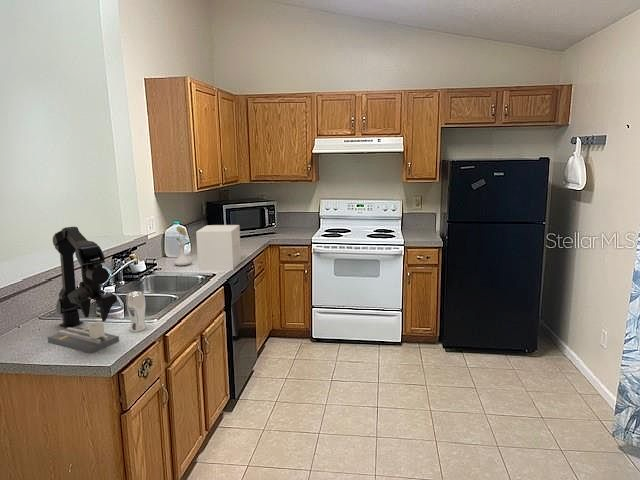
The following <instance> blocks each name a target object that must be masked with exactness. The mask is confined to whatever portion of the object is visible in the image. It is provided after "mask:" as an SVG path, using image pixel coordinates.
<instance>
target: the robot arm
mask: <svg viewBox="0 0 640 480" xmlns="http://www.w3.org/2000/svg"><path fill="white" fill-rule="evenodd" d="M52 244H53V246H54V249H55V250H56V251H57V252H58V254H59V257H60V269H61V270H60V272H61V283H62V287H61V290H60V291H59V293H58V299H57V302H56V304H55V305H56V306H55V307H56V312H57V313H58V314H60V315H61V316H62V317H61V318H62V323H60V324H59V326H60V327H64V328H68V327H70V328H74V327H77V326H78V325H80V324H83V323H84V321H82V320H80V313H79V310H81V313H82V314H83V317H84V318H86V319H87V318H89V317H90V309H91V301H92V300H93V301H95V303H96V306H95V307H97V308H98V309H99V313H100V316H101V317H100V318H101V322H103V323H104V322H106V321H107V319H108V316H109V313H110V311H111V309H112V307H113V306H114V305H115V304H116V303H118V295H116V294H114V293H105V290H103V289H102V286H101V285H103V284H105V283H106V282H107V281H108V280H109V278H110V272H109V271H108V269H107V268H105V267H104V266H103V264H105V263H106V260H105V259H106V257H105V255H104V252H103V250H102V248H101V247H100V245H98V244H97V243H96V242H95V241H91V240H88V239H87V238H86V237H85V236H84V235H83V234H82V232H80V230H79V227H78V226H68V227H63V228H62V229H61V230H60V231H58V232H56V233H54V235H53V236H52ZM74 255H75V257H76V260H77V262H78V264H79V266H80V269H81V279H82V280H81V281H80V282H79V286H78V287H77V288H76V276H75V262H74Z"/></svg>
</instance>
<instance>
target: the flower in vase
mask: <svg viewBox="0 0 640 480" xmlns="http://www.w3.org/2000/svg"><path fill="white" fill-rule="evenodd" d="M175 229H176V232H177V233H179V234H178V237H177V238H176V241H178V242H179V243H177V245H178V247H179V250H180V251H179V252H180V254H179V256H178V257H177V258H176V259H175V260H174V261H173V264H174V265H176V266H189V265H190V264H192V263H193V260H192V259H191V258H190V257H188V256H186V254H185V246H186V244H187V243H185V242H182V241H183V240H185V238H183V239H181V240H180V236H182V237H183V236H184V237H186V236H187V231H186V229H185V228H184V227H182V226H180V225H177V226H176V228H175Z"/></svg>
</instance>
